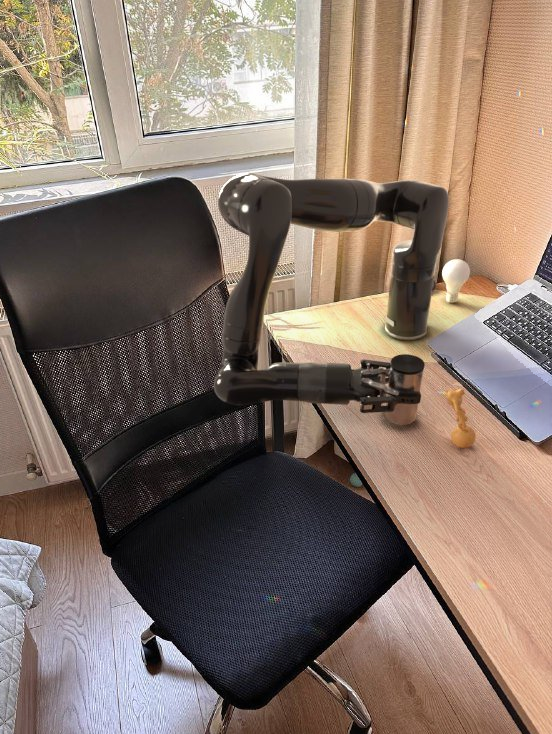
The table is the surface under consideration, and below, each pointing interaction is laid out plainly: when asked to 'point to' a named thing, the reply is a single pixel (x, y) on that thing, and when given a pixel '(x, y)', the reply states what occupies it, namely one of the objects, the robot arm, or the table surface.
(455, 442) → the figurine
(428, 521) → the table surface
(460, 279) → the lightbulb
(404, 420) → the canister
